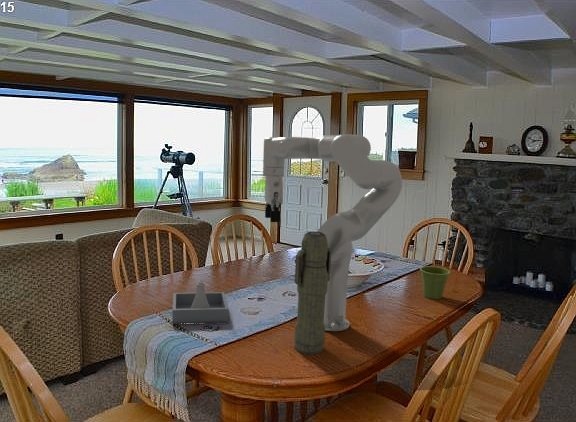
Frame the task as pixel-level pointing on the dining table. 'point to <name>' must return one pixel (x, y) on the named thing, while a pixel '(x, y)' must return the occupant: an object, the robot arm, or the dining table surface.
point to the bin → (203, 315)
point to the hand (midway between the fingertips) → (272, 219)
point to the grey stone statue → (311, 292)
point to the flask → (200, 297)
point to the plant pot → (434, 281)
